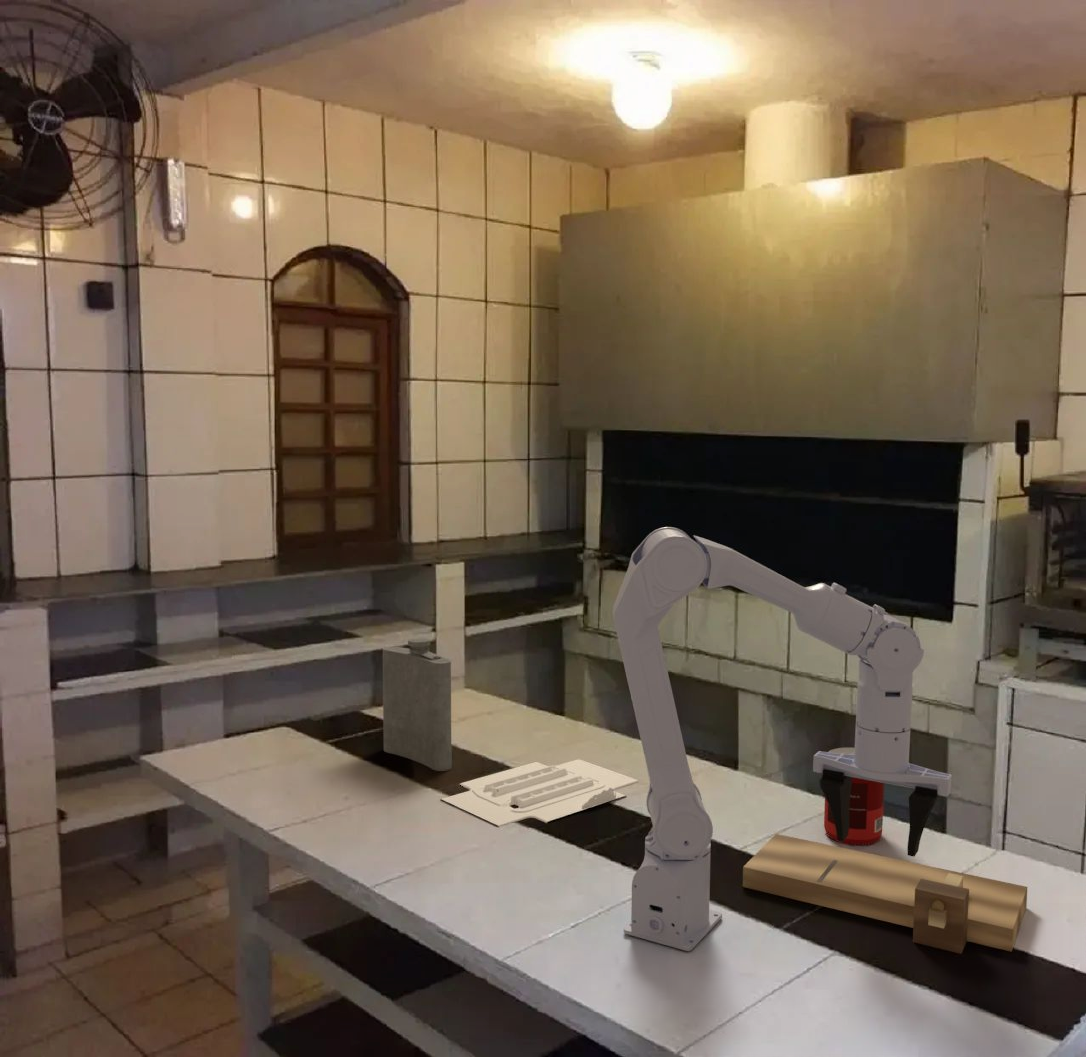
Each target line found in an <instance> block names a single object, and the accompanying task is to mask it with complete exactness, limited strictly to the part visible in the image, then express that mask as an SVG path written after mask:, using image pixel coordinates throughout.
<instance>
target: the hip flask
mask: <svg viewBox="0 0 1086 1057" xmlns="http://www.w3.org/2000/svg"><path fill="white" fill-rule="evenodd" d="M407 645H408V646H409V647H400V646H386V647H383V648H382V709H383V710H382V712H383V715H382V716H383V718H382V719H383V722H382V723H383V726H382V727H383V731H382V732H383V751H384V752H385V753H387V754H392V755H395V756H399V757H401V758H406V759H409V760H411V761H414V762H416V763H420V764H422V765H424V766H426V767H428V768H429V769H431V770H433V771H436V772H445V771H446V772H447V771H449V770H451V769H452V660H451V659H449V658H446V657H444V656H441V655H438V654H437V653H434V652H432V651H430V647H429V646H431V639H430V638H427V637H413V638H409V639H408V640H407Z"/></svg>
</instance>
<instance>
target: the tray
mask: <svg viewBox="0 0 1086 1057" xmlns="http://www.w3.org/2000/svg"><path fill="white" fill-rule="evenodd" d="M637 783H639V780H638V779H635V778H633V777H630V776H627V775H624V774H621V773H619V772H616V771H613V770H611V769H608V768H605V767H602V766H599V765H596V764H594V763H591V762H588V761H585V760H583V759H574V760H571V761H567V762H564V763H560V764H557V765H555V764H552V765H545V764H543V763H540V762H538V761H535V762H531V763H528V764H524V765H521V766H517V767H513V768H510V769H507V770H503V771H499V772H496V773H491V774H489V775H485V776H482V777H477V778H475V779H472V780H467V781H464V782H461V783H459V786H460V785H461V787H462V786H463V788H465V789H467V791H464V792H461V793H455V794H454V795H450V796H447V797H443V798H440V801H445V802H447V803H448V804H451V805H454V806H455V807H457V808H459V809H461V810H464V811H466V812H467V813H471V815H472V814H473V815H475V816H477V817H478V818H481V819H483V820H486V821H487V822H489V823H492V824H493V825H496V826H498V827H497V828H500V827H504V826H508V825H510V824H513V823H516V822H519V821H522V820H525V819H530V818H532V819H536V820H538V821H541V822H544V823H545V824H548V822H551V821H553V820H557V819H560V818H563V817H566V816H568V815H572V814H574V813H577V812H581V811H584V810H587V809H589V808H593V807H595V806H599V805H602V804H605V803H607V802H610V801H615V800H616V799H620V798H622V797H626V798H627V795H625V794H623V793H620V792H617V791H616V790H619V789H623V788H625V787H628V786H632V785H634V784H637ZM513 805H515V806H518V808H517V807H516V808H514V807H512V806H513ZM509 823H510V824H509ZM503 825H504V826H503Z"/></svg>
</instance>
